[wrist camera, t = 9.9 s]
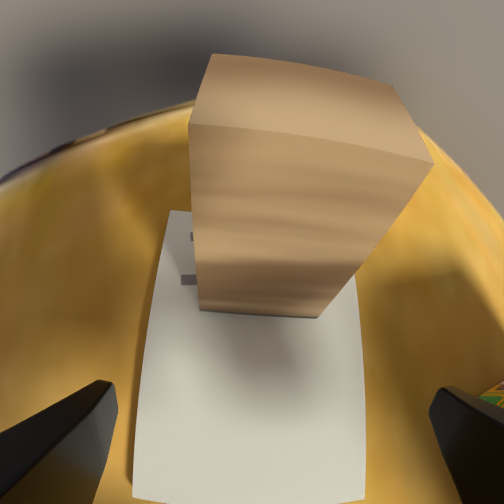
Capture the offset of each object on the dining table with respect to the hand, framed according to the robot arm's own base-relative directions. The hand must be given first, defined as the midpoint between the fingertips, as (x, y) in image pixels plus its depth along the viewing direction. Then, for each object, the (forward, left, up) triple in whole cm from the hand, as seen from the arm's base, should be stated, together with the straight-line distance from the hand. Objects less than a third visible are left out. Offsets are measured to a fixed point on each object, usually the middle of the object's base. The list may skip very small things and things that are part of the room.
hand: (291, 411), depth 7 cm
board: (+3, +2, -8) cm, 9 cm away
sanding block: (+6, +3, -7) cm, 10 cm away
